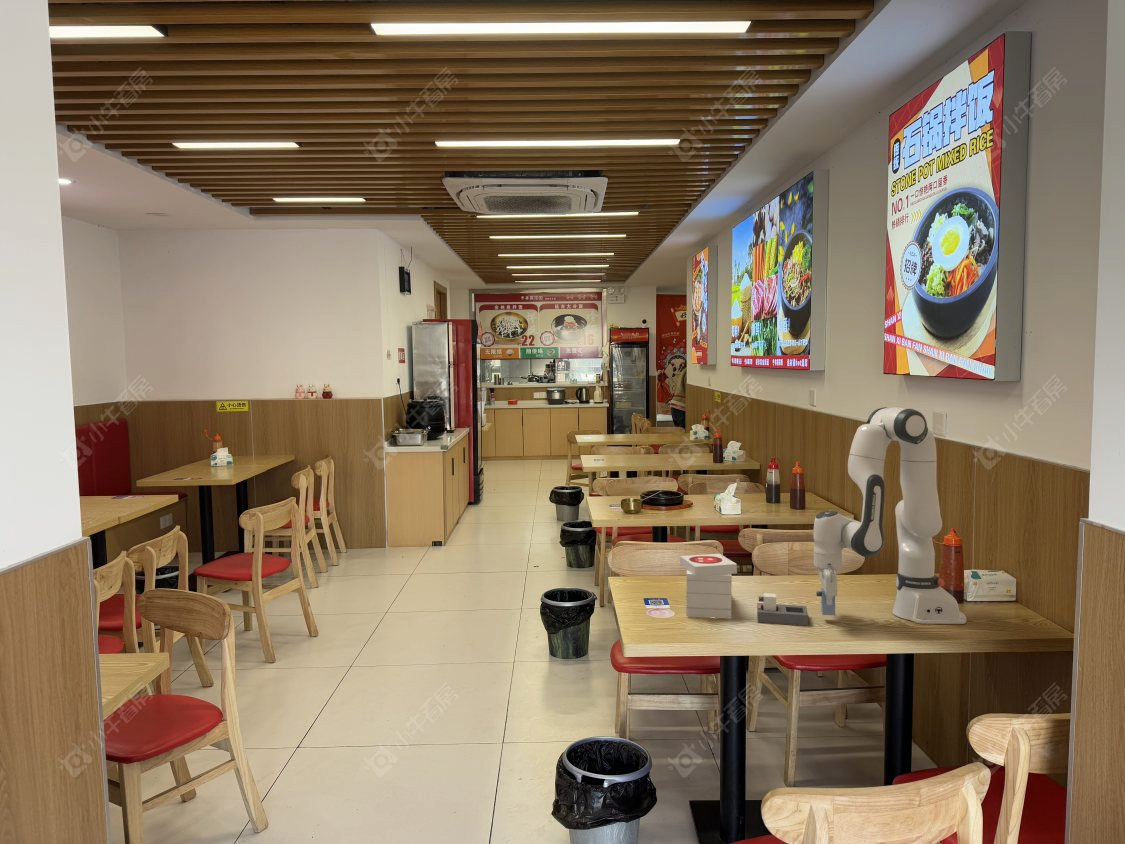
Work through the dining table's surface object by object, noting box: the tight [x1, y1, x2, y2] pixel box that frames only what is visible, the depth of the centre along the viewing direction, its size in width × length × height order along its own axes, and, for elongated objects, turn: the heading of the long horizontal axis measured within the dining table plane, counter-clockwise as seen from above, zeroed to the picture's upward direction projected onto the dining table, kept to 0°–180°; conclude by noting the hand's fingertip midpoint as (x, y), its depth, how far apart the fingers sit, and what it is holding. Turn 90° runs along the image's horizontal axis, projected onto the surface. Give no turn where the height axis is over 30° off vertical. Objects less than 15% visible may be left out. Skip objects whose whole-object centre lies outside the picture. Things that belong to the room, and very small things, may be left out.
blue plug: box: [816, 587, 836, 616], centre depth 254 cm, size 6×4×8 cm
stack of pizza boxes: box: [679, 553, 738, 619], centre depth 271 cm, size 19×30×18 cm, turn 170°
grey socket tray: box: [756, 602, 809, 626], centre depth 257 cm, size 16×10×4 cm, turn 76°
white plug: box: [758, 592, 777, 611], centre depth 258 cm, size 6×4×8 cm
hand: (828, 601), depth 254 cm, fingers closed on blue plug, 4 cm apart
